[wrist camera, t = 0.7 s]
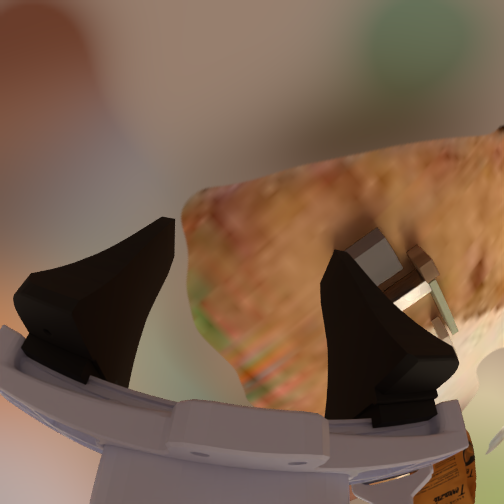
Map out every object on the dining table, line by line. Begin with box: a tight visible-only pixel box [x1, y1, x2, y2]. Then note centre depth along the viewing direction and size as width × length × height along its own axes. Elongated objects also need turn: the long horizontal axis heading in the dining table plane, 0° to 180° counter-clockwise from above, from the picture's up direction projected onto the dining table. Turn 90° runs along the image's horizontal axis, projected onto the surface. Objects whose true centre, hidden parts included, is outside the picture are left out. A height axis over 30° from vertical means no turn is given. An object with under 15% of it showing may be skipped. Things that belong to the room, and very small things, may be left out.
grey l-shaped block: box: [383, 269, 458, 335], centre depth 26 cm, size 8×7×4 cm
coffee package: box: [410, 430, 476, 504], centre depth 24 cm, size 10×12×22 cm
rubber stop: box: [345, 228, 403, 286], centre depth 27 cm, size 5×6×4 cm
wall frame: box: [406, 245, 457, 355], centre depth 25 cm, size 15×2×5 cm, turn 33°
